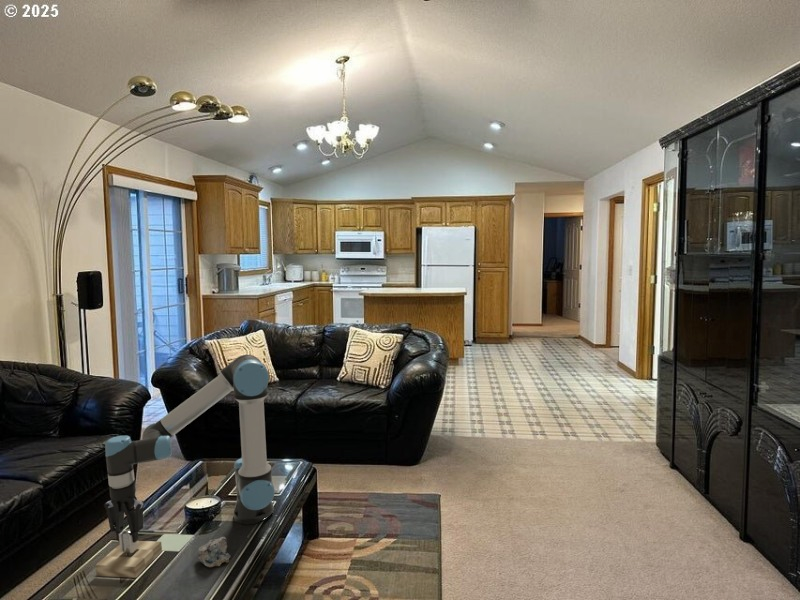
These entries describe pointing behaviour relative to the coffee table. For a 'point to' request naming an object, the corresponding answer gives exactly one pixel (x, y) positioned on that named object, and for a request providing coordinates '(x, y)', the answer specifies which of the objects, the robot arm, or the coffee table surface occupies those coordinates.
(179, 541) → the mat
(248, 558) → the coffee table surface
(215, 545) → the mineral specimen
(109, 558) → the hole block
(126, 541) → the pin
